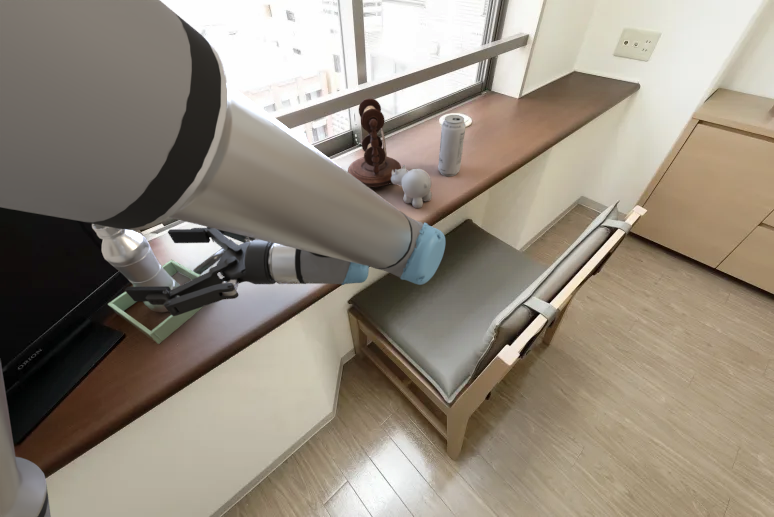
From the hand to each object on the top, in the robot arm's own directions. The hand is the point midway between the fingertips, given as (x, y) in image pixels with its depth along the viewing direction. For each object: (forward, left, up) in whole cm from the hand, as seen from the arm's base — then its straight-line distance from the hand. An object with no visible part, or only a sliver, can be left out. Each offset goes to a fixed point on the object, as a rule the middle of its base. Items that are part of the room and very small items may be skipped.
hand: (153, 262), depth 58 cm
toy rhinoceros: (+52, -22, -11) cm, 57 cm away
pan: (+3, +2, -11) cm, 12 cm away
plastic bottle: (-1, +2, -11) cm, 11 cm away
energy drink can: (+68, -26, -11) cm, 73 cm away
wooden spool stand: (+56, -9, -11) cm, 57 cm away
